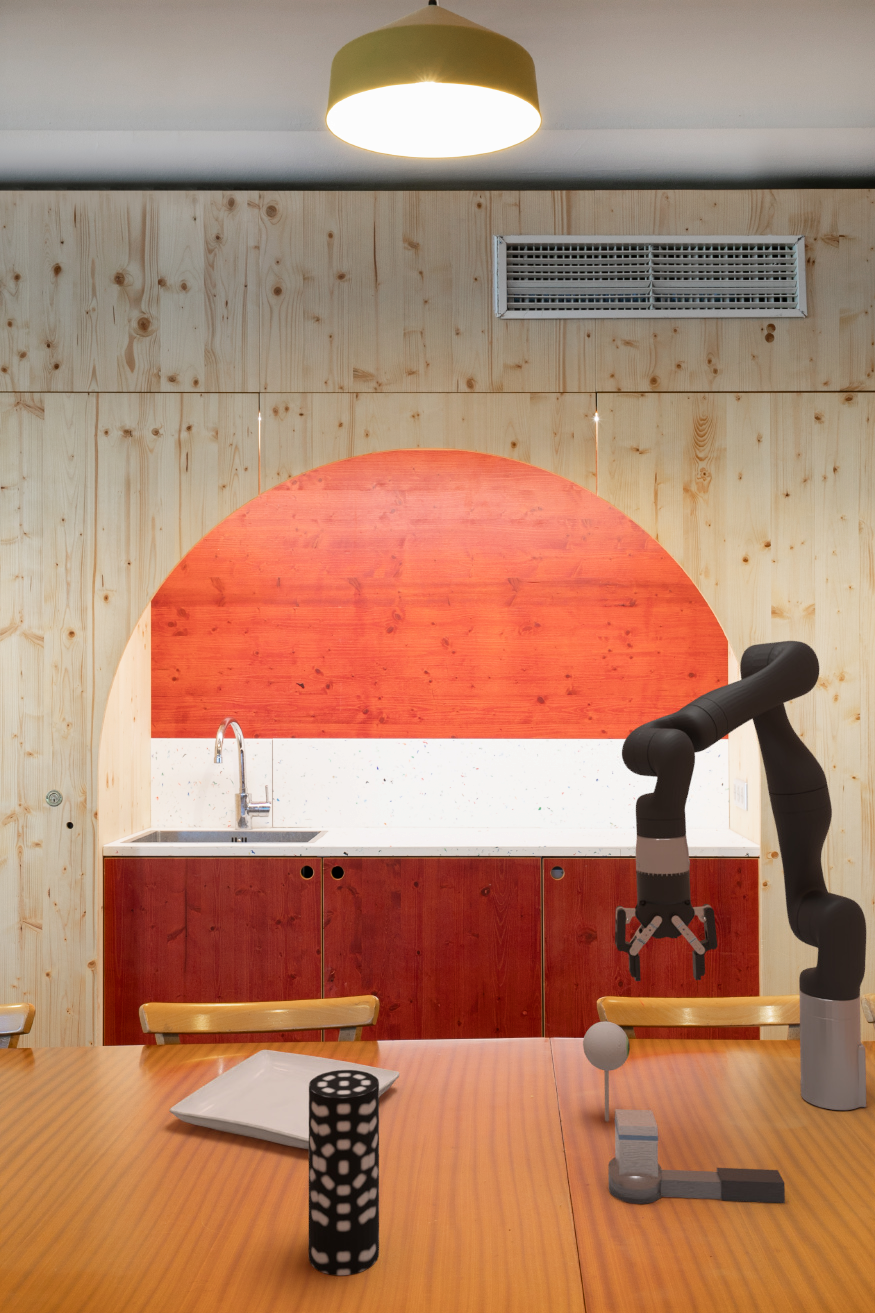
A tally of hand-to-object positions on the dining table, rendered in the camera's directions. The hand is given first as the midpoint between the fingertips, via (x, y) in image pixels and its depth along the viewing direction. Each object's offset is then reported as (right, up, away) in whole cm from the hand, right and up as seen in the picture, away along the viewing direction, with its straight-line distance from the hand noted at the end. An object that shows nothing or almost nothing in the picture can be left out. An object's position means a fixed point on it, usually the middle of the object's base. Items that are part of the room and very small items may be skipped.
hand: (667, 979), depth 141 cm
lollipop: (-7, -26, +11) cm, 29 cm away
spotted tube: (-44, -25, -25) cm, 57 cm away
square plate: (-57, -26, +15) cm, 64 cm away
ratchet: (+1, -25, -11) cm, 27 cm away
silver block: (-7, -22, -10) cm, 25 cm away
